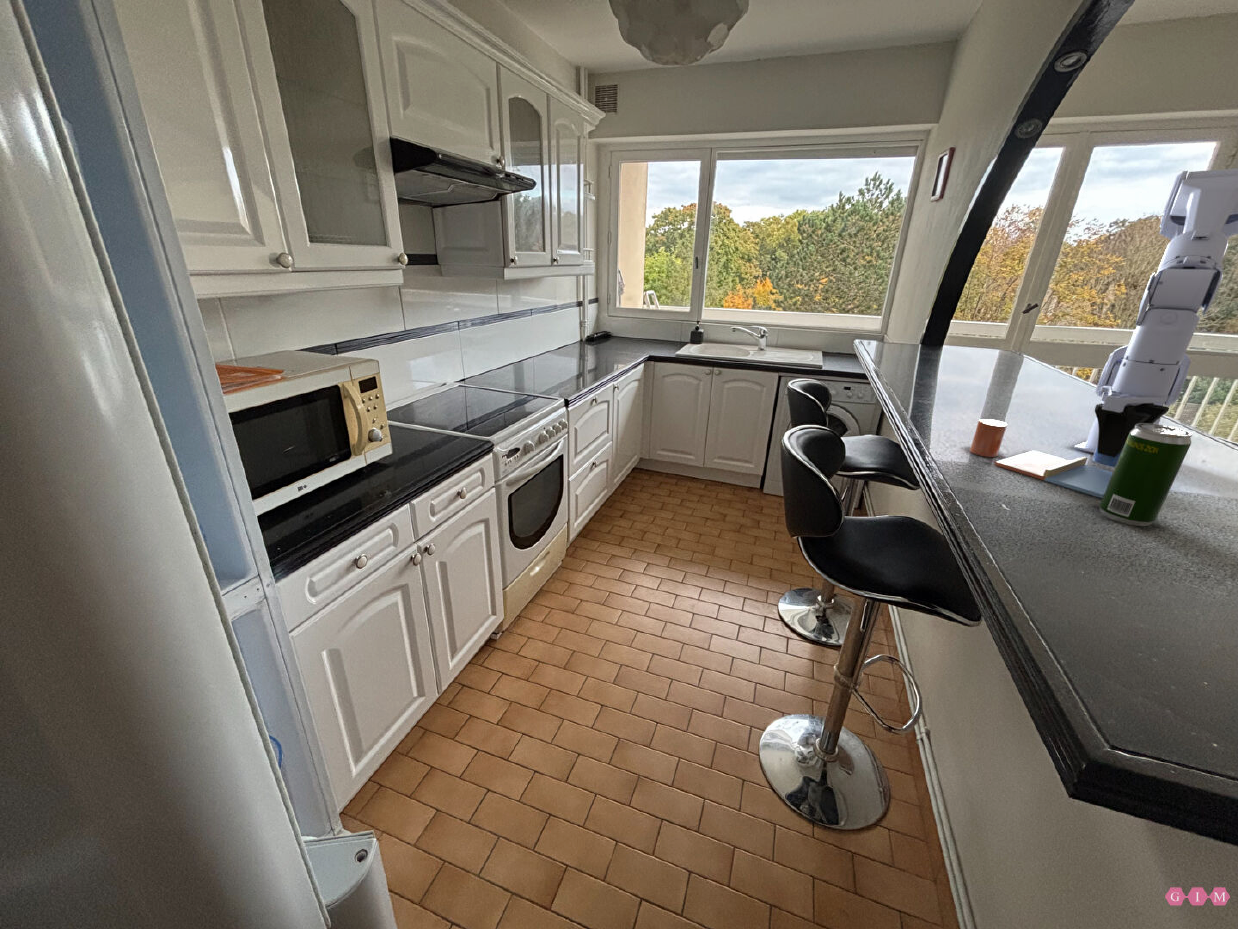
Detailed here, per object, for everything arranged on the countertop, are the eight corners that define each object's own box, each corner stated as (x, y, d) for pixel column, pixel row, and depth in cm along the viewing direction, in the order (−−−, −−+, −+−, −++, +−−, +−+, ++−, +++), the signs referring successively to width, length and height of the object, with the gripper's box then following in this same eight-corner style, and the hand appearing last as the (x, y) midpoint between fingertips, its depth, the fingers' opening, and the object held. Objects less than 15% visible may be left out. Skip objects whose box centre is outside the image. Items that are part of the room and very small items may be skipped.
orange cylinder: (977, 447, 90) (986, 417, 88) (1002, 454, 87) (1012, 424, 85) (964, 451, 88) (973, 420, 86) (989, 458, 85) (999, 427, 83)
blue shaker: (1098, 456, 78) (1112, 422, 76) (1132, 464, 75) (1147, 429, 73) (1086, 460, 77) (1100, 425, 75) (1120, 469, 73) (1135, 433, 71)
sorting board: (1032, 453, 87) (1035, 443, 87) (1138, 483, 76) (1142, 472, 75) (994, 464, 82) (997, 454, 81) (1101, 498, 71) (1106, 486, 70)
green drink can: (1146, 531, 62) (1189, 439, 58) (1090, 514, 66) (1126, 426, 62) (1159, 520, 65) (1200, 431, 60) (1104, 504, 69) (1139, 420, 64)
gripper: (1135, 353, 77) (1102, 437, 82) (1091, 359, 70) (1058, 451, 75) (1201, 360, 71) (1161, 451, 76) (1159, 369, 64) (1118, 467, 70)
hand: (1113, 452), depth 75 cm, fingers closed on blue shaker, 4 cm apart
